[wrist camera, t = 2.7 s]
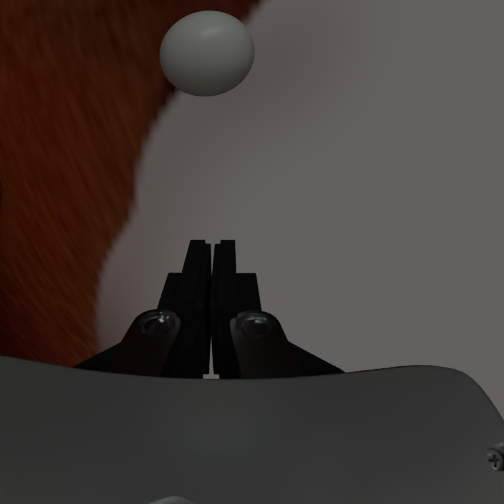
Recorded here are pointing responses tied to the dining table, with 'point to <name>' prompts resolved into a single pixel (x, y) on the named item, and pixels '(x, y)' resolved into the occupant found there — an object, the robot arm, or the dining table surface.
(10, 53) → the dining table surface
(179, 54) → the cue ball
